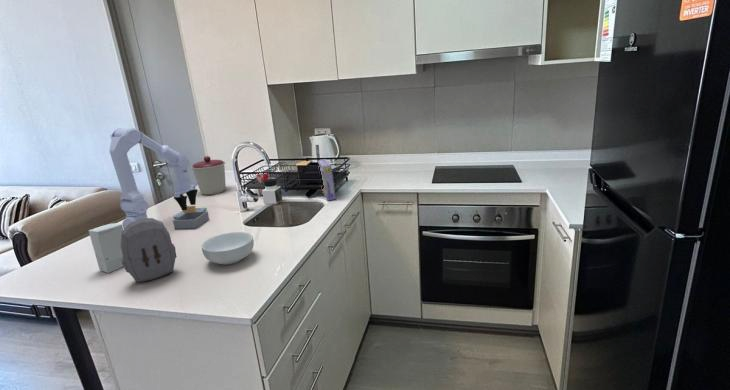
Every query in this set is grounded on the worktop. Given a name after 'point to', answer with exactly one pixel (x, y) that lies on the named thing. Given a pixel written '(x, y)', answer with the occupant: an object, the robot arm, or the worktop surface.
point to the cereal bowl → (228, 247)
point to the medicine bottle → (271, 191)
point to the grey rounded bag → (147, 249)
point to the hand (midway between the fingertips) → (188, 207)
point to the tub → (191, 220)
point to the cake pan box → (327, 179)
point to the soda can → (262, 179)
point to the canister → (210, 176)
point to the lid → (190, 209)
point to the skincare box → (107, 246)
